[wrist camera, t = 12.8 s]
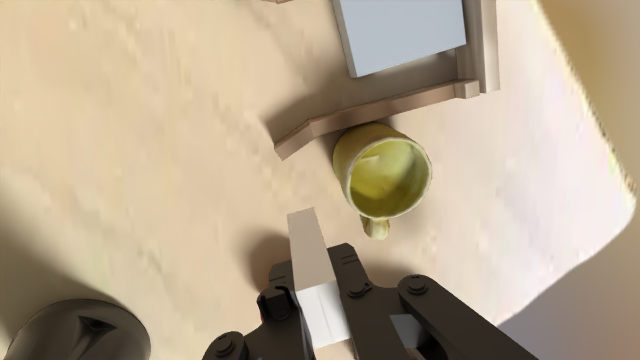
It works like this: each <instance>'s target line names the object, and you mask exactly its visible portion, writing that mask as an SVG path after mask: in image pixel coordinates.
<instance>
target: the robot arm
mask: <svg viewBox="0 0 640 360" xmlns="http://www.w3.org/2000/svg"><path fill="white" fill-rule="evenodd" d="M287 219H288V229H289V238H290V247H291V257H292V260H289V261H286V262H282V263H279V264H276V265H273V267H272V269H271V271H270V272H269V287H268V288H266V289H265V290H263V291H262V292H261V294H260V295H259V296H258V298H257V301H256V302H257V304H258V307H259V309H260V312H261V315H262V317H263V323H262V324H261V325H260V326H259V327H258V328H257V329H255V330H254V331H252V332H251V333H249V334H247V335H245V336H244V337H243V335H242V334H241V333H239V332H236V331H231V332H227V333H224V334H222V335H221V336H219V337H217V338H216V339H215V340H214V341H213V342H212V343H211V344H210V346H209V347H208V349H207V350H206V352H205V354H204V356H203V359H202V360H316V357H315V354H314V352H313V347H314V349H317V348H320V347H323V346H326V345H329V344H333V343H336V342H339V341H342V340H345V339H349V338H352V342H353V345H354V349H355V353H356V356H357V360H411V359H410V357H409V355H408V353H407V351H406V349H405V348H410V349H411V351H412V353H413V354H414V355H415V356H416V357H417V358H418V360H539V359H537V358H536V357H535V356H533V355H532V354H531V353H530V352H528V351H526V350H525V349H524V348H523V347H521V346H520V345H519V344H518V343H516V342H515V341H514V340H512V339H511V338H510V337H508V336H507V335H506V334H504V333H503V332H502V331H500V330H499V329H498V328H496V327H495V326H494V325H492V324H491V323H490V322H489V321H487V320H486V319H485V318H483V317H482V316H481V315H479V314H478V313H477V312H475V311H474V310H473V309H471V308H470V307H469V306H467V305H466V304H465V303H463V302H462V301H461V300H459V299H458V298H457V297H455V296H454V295H453V294H451V293H450V292H449V291H448V290H446V289H445V288H444V287H442V286H441V285H440V284H438V283H437V282H436V281H434V280H433V279H431V278H429V277H428V276H424V275H410V276H407V277H405V278H403V279H402V280H401V281H400V282H399V284H398V288H382V287H378V286H376V285H374V284H373V283H372V282H371V281H370V280H369V279H368V277H367V275H366V273H365V270H364V268H363V266H362V264H361V262H360V260H359V258H358V256H357V254H356V252H355V249H354V247H352V246H351V245H349V244H348V243H344V244H340V245H337V246H334V247H330V248H327V249H326V245H325V242H324V239H323V236H322V233H321V230H320V226H319V223H318V220H317V217H316V214H315V211H314V207H312V208H309V209H305V210H302V211H298V212H295V213H291V214H288V215H287ZM312 344H313V345H312ZM150 352H151V344H150V339H149V336H148V334H147V332H146V330H145V328H144V327H143V326H142V324H141V323H140V322H139V321H138V320H137V319H136V318H135V317H134V316H132V315H131V314H130V313H128V312H127V311H125V310H123V309H121V308H119V307H117V306H114V305H112V304H109V303H105V302H101V301H96V300H86V299H77V300H68V301H63V302H59V303H55V304H53V305H50V306H48V307H46V308H44V309H42V310H41V311H39V312H38V313H36V314H35V315H34V316H33V317H32V318H31V319H30V320H29V321H28V322H27V323H26V324H25V325H24V326H23V327H22V328H21V329H20V330H19V331H18V332H17V334H16V335H15V336H14V338H13V339H12V341H11V343H10V346H9V349H8V351H7V354H6V356H5V357H4V359H3V360H149V357H150Z"/></svg>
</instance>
